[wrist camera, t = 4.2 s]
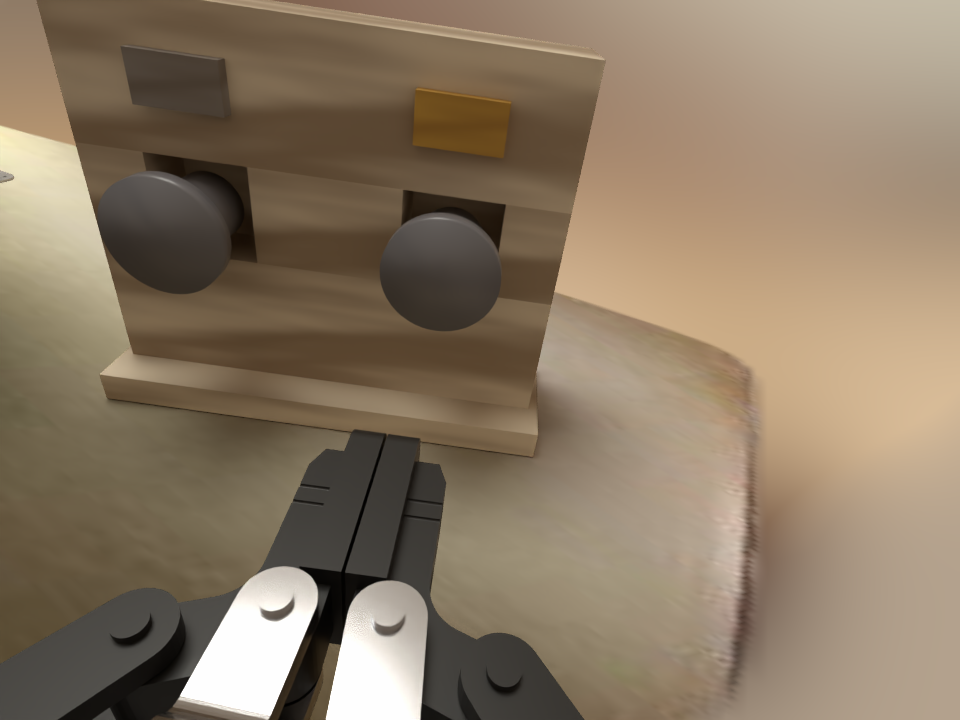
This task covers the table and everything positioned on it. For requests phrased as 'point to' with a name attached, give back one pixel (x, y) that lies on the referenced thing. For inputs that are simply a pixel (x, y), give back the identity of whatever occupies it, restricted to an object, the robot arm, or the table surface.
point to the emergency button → (5, 177)
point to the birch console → (332, 203)
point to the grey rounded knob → (441, 270)
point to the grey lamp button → (171, 228)
